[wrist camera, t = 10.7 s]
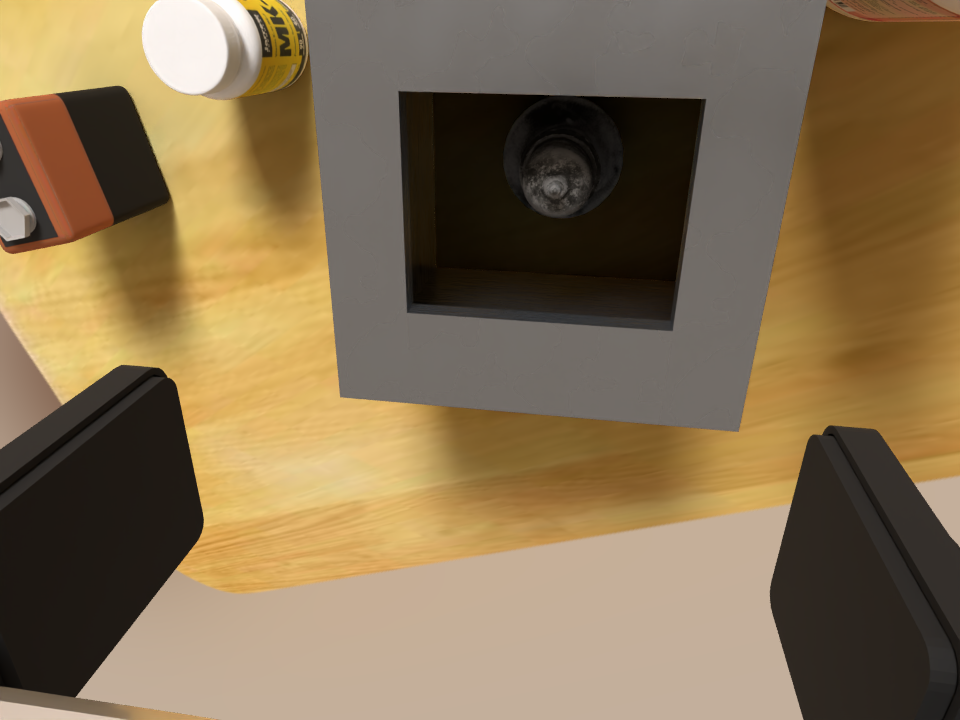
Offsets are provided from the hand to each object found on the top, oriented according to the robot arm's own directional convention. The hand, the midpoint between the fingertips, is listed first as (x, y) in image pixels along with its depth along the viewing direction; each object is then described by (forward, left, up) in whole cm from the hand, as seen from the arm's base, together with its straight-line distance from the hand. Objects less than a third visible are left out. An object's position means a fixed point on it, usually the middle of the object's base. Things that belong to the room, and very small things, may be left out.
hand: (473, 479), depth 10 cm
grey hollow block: (0, 0, -30) cm, 30 cm away
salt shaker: (0, 0, -30) cm, 30 cm away
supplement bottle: (+16, -5, -30) cm, 35 cm away
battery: (+26, +1, -30) cm, 40 cm away
